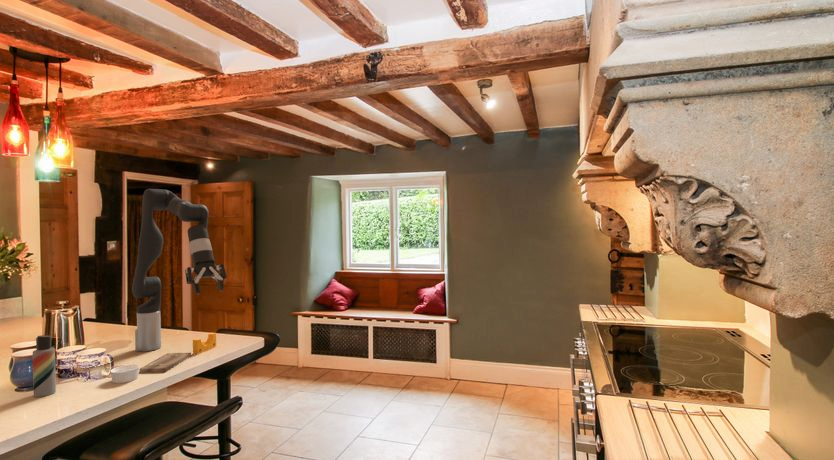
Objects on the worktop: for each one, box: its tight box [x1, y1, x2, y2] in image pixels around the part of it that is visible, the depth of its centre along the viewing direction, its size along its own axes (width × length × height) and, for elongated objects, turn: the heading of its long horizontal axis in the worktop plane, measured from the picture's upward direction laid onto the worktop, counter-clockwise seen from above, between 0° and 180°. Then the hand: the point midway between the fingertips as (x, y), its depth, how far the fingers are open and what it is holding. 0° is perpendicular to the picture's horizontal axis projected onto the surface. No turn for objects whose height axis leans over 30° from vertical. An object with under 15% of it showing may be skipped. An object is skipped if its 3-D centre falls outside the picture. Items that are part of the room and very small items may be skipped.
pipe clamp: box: [192, 332, 217, 355], centre depth 193 cm, size 12×4×6 cm, turn 168°
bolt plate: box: [139, 352, 192, 374], centre depth 174 cm, size 10×20×2 cm, turn 3°
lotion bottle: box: [32, 334, 57, 398], centre depth 144 cm, size 6×6×20 cm
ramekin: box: [110, 363, 140, 384], centre depth 157 cm, size 9×9×4 cm
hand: (209, 292), depth 162 cm, fingers open, 8 cm apart
